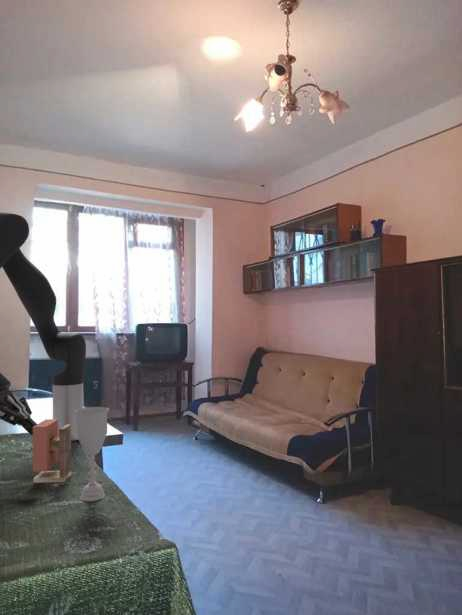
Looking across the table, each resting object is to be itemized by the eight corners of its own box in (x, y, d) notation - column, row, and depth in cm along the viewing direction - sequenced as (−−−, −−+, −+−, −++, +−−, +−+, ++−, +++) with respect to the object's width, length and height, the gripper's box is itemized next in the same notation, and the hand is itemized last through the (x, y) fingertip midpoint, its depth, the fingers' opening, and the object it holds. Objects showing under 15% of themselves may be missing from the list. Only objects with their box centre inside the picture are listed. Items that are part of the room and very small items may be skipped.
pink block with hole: (46, 460, 112) (45, 419, 112) (58, 460, 112) (58, 419, 113) (32, 471, 104) (32, 427, 104) (46, 471, 104) (46, 426, 105)
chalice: (116, 492, 99) (116, 407, 99) (97, 504, 92) (97, 414, 93) (88, 489, 101) (87, 406, 101) (67, 500, 94) (66, 412, 95)
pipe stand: (41, 475, 111) (41, 425, 111) (71, 474, 111) (70, 424, 111) (33, 482, 106) (33, 430, 106) (64, 481, 106) (63, 429, 106)
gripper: (-19, 372, 102) (37, 427, 102) (8, 366, 115) (58, 415, 115) (-44, 397, 102) (13, 452, 102) (-14, 388, 115) (36, 437, 115)
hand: (37, 432), depth 108 cm, fingers closed
